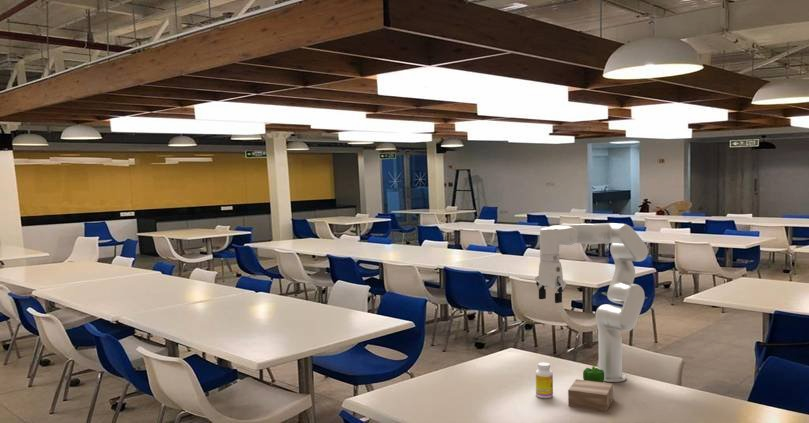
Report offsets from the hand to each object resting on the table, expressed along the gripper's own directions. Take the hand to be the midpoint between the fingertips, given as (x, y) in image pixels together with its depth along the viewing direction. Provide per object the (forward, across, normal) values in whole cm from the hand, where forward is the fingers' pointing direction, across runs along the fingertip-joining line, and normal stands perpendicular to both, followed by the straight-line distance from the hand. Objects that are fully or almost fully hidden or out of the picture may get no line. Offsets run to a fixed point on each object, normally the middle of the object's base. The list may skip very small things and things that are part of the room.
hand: (550, 300), depth 248 cm
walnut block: (+37, -17, -5) cm, 41 cm away
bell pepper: (+37, -6, -17) cm, 41 cm away
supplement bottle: (+37, -2, +5) cm, 38 cm away
